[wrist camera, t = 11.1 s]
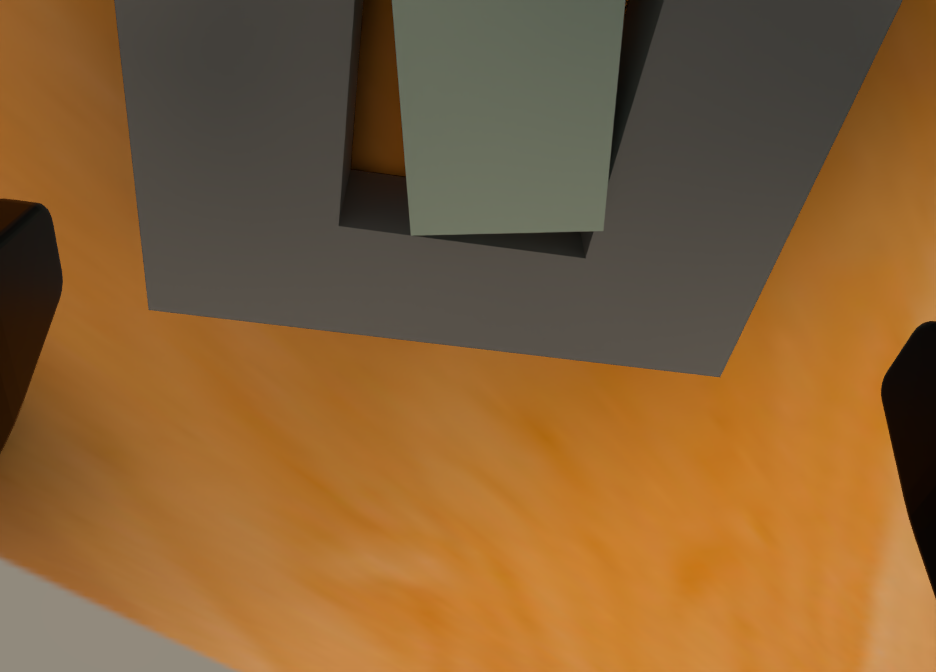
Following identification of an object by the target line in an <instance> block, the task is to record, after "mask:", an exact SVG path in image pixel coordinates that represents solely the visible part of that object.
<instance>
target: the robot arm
mask: <svg viewBox="0 0 936 672" xmlns="http://www.w3.org/2000/svg"><path fill="white" fill-rule="evenodd" d="M62 283H63V279H62V269H61V264H60V259H59V253H58V248H57V242H56V237H55V232H54V226H53V221H52V217H51V215H50V213H49V211H48V209H47V208H46V207H45V206H43V205H42V204H40V203H34V202H27V201H19V200H12V199H0V453H1V451H2V450H3V448H4V446H5V443H6V441H7V439H8V437H9V435H10V433H11V431H12V429H13V426H14V424H15V422H16V419H17V417H18V414H19V412H20V409H21V406H22V404H23V401H24V398H25V395H26V393H27V390H28V387H29V384H30V381H31V378H32V376H33V373H34V370H35V367H36V364H37V362H38V359H39V356H40V353H41V350H42V347H43V345H44V342H45V339H46V336H47V333H48V331H49V328H50V325H51V322H52V319H53V317H54V314H55V311H56V308H57V305H58V302H59V300H60V296H61V291H62ZM881 397H882V403H883V407H884V412H885V416H886V421H887V425H888V430H889V434H890V439H891V443H892V448H893V452H894V457H895V461H896V465H897V470H898V474H899V479H900V483H901V488H902V492H903V497H904V501H905V505H906V509H907V513H908V517H909V520H910V523H911V527H912V530H913V533H914V536H915V539H916V542H917V545H918V548H919V551H920V554H921V557H922V560H923V563H924V566H925V569H926V572H927V575H928V577H929V580H930V583H931V586H932V589H933V592H934V595H935V598H936V321H929V322H925V323H923V324H921V325H920V326H919V327H917V328H916V329H915V331H914V332H913V333H912V335H911V336H910V338H909V339H908V341H907V342H906V344H905V345H904V347H903V348H902V350H901V351H900V353H899V354H898V356H897V358H896V359H895V361H894V362H893V364H892V365H891V367H890V368H889V370H888V371H887V373H886V375H885V376H884V379H883V382H882V388H881Z"/></svg>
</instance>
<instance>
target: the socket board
mask: <svg viewBox="0 0 936 672" xmlns="http://www.w3.org/2000/svg"><path fill="white" fill-rule="evenodd" d="M114 1H115V10H116V19H117V28H118V37H119V46H120V55H121V64H122V73H123V82H124V91H125V100H126V109H127V118H128V127H129V136H130V145H131V154H132V163H133V172H134V181H135V190H136V199H137V208H138V217H139V226H140V235H141V244H142V253H143V262H144V271H145V280H146V289H147V298H148V307H149V310H154V311H163V312H171V313H180V314H188V315H197V316H205V317H214V318H222V319H230V320H239V321H247V322H256V323H264V324H273V325H281V326H290V327H298V328H307V329H315V330H324V331H332V332H341V333H349V334H358V335H366V336H375V337H383V338H392V339H400V340H409V341H417V342H426V343H434V344H443V345H451V346H460V347H468V348H477V349H485V350H494V351H502V352H511V353H519V354H528V355H536V356H545V357H553V358H562V359H570V360H579V361H587V362H596V363H604V364H613V365H621V366H630V367H638V368H647V369H655V370H664V371H672V372H681V373H689V374H698V375H706V376H714V377H720V376H721V374H722V372H723V370H724V368H725V366H726V364H727V362H728V359H729V357H730V355H731V353H732V351H733V349H734V347H735V345H736V343H737V341H738V339H739V337H740V335H741V333H742V331H743V329H744V326H745V324H746V322H747V320H748V318H749V316H750V314H751V312H752V310H753V308H754V306H755V304H756V302H757V300H758V298H759V296H760V293H761V291H762V289H763V287H764V285H765V283H766V281H767V279H768V277H769V275H770V273H771V271H772V269H773V267H774V265H775V263H776V260H777V258H778V256H779V254H780V252H781V250H782V248H783V246H784V244H785V242H786V240H787V238H788V236H789V234H790V232H791V229H792V227H793V225H794V223H795V221H796V219H797V217H798V215H799V213H800V211H801V209H802V207H803V205H804V203H805V201H806V199H807V196H808V194H809V192H810V190H811V188H812V186H813V184H814V182H815V180H816V178H817V176H818V174H819V172H820V170H821V168H822V166H823V163H824V161H825V159H826V157H827V155H828V153H829V151H830V149H831V147H832V145H833V143H834V141H835V139H836V137H837V135H838V133H839V130H840V128H841V126H842V124H843V122H844V120H845V118H846V116H847V114H848V112H849V110H850V108H851V106H852V104H853V102H854V99H855V97H856V95H857V93H858V91H859V89H860V87H861V85H862V83H863V81H864V79H865V77H866V75H867V73H868V71H869V69H870V66H871V64H872V62H873V60H874V58H875V56H876V54H877V52H878V50H879V48H880V46H881V44H882V42H883V40H884V38H885V36H886V33H887V31H888V29H889V27H890V25H891V23H892V21H893V19H894V17H895V15H896V13H897V11H898V9H899V7H900V5H901V3H902V0H630V1H629V5H628V8H627V12H626V15H625V19H624V23H623V31H622V41H621V52H620V62H619V73H618V83H617V93H616V104H615V114H614V125H613V135H612V146H611V156H610V167H609V177H608V187H607V198H606V208H605V219H604V229H603V231H584V232H542V233H499V234H457V235H415V236H411V231H410V219H409V206H408V194H407V182H406V177H400V176H393V175H386V174H379V173H372V172H364V171H357V170H351V157H352V144H353V131H354V118H355V105H356V92H357V79H358V66H359V53H360V40H361V27H362V14H363V1H364V0H114Z"/></svg>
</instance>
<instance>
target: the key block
mask: <svg viewBox="0 0 936 672" xmlns="http://www.w3.org/2000/svg"><path fill="white" fill-rule="evenodd" d="M392 9H393V21H394V34H395V46H396V58H397V71H398V83H399V95H400V108H401V120H402V132H403V145H404V157H405V169H406V182H407V194H408V206H409V219H410V231H411V236H415V235H457V234H499V233H542V232H584V231H603V229H604V219H605V208H606V198H607V187H608V177H609V167H610V156H611V146H612V135H613V125H614V114H615V104H616V93H617V83H618V73H619V62H620V52H621V41H622V31H623V20H624V10H625V0H392Z"/></svg>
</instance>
